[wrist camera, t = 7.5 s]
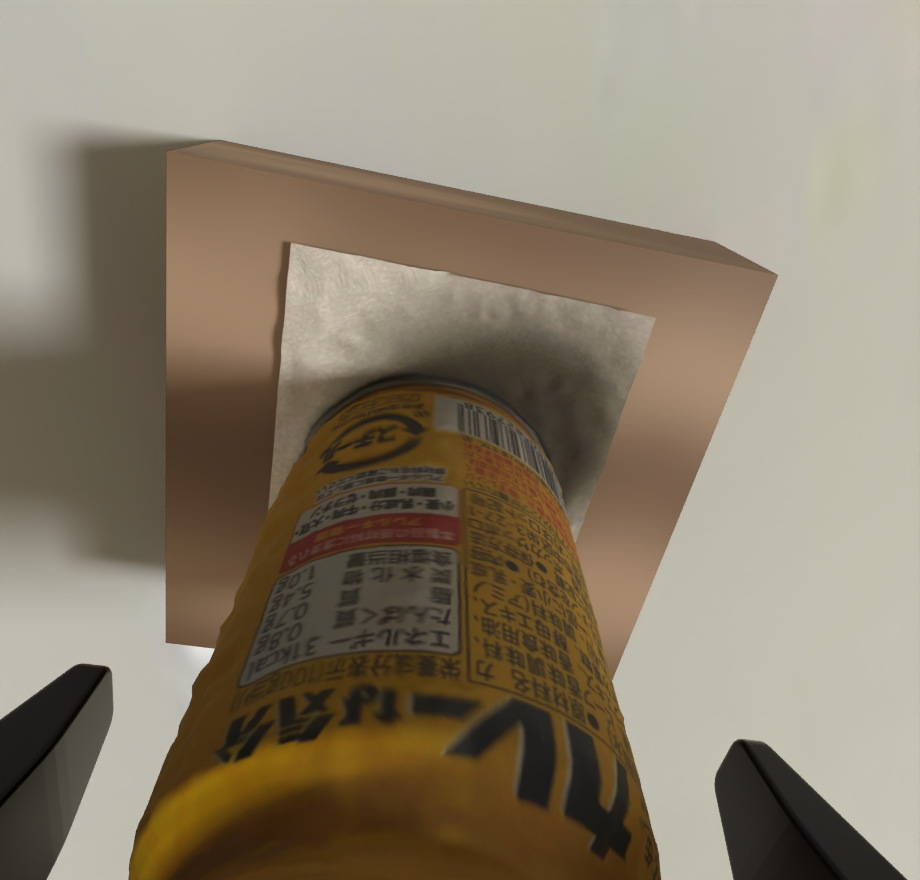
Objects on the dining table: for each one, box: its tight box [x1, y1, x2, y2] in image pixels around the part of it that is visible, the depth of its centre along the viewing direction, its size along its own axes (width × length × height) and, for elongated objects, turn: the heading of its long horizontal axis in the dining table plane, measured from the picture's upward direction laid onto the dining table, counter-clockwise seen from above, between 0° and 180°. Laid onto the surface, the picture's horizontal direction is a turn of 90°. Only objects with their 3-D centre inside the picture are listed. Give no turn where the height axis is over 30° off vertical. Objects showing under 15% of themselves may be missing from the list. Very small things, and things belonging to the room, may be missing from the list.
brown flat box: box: [166, 140, 778, 680], centre depth 17 cm, size 12×12×4 cm
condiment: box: [129, 243, 661, 880], centre depth 10 cm, size 7×8×12 cm
